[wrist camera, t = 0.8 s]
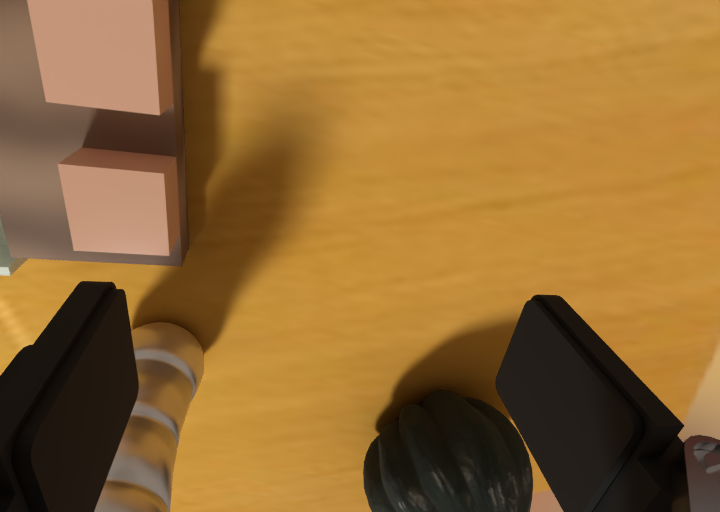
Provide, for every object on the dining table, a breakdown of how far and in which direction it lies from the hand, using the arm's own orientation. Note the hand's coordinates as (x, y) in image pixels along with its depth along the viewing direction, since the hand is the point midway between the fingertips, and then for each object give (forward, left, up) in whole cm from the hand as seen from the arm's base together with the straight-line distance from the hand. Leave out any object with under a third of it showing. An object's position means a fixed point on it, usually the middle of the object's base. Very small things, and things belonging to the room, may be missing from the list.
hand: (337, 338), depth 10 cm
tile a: (-4, -10, -18) cm, 21 cm away
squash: (+28, +16, -21) cm, 39 cm away
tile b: (+4, -10, -18) cm, 21 cm away
